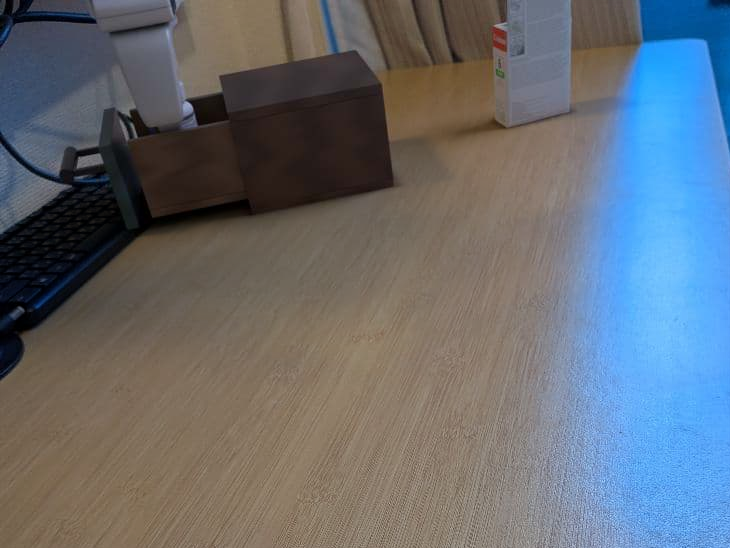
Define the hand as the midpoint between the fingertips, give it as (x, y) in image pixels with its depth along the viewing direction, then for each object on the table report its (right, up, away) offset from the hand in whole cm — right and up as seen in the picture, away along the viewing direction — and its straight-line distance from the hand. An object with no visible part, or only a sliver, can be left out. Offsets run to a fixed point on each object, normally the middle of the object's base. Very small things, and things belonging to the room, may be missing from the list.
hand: (178, 146), depth 84 cm
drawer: (-2, -4, +3) cm, 5 cm away
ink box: (+38, +8, +11) cm, 40 cm away
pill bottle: (0, -2, +2) cm, 3 cm away
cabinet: (+13, -1, +5) cm, 14 cm away
